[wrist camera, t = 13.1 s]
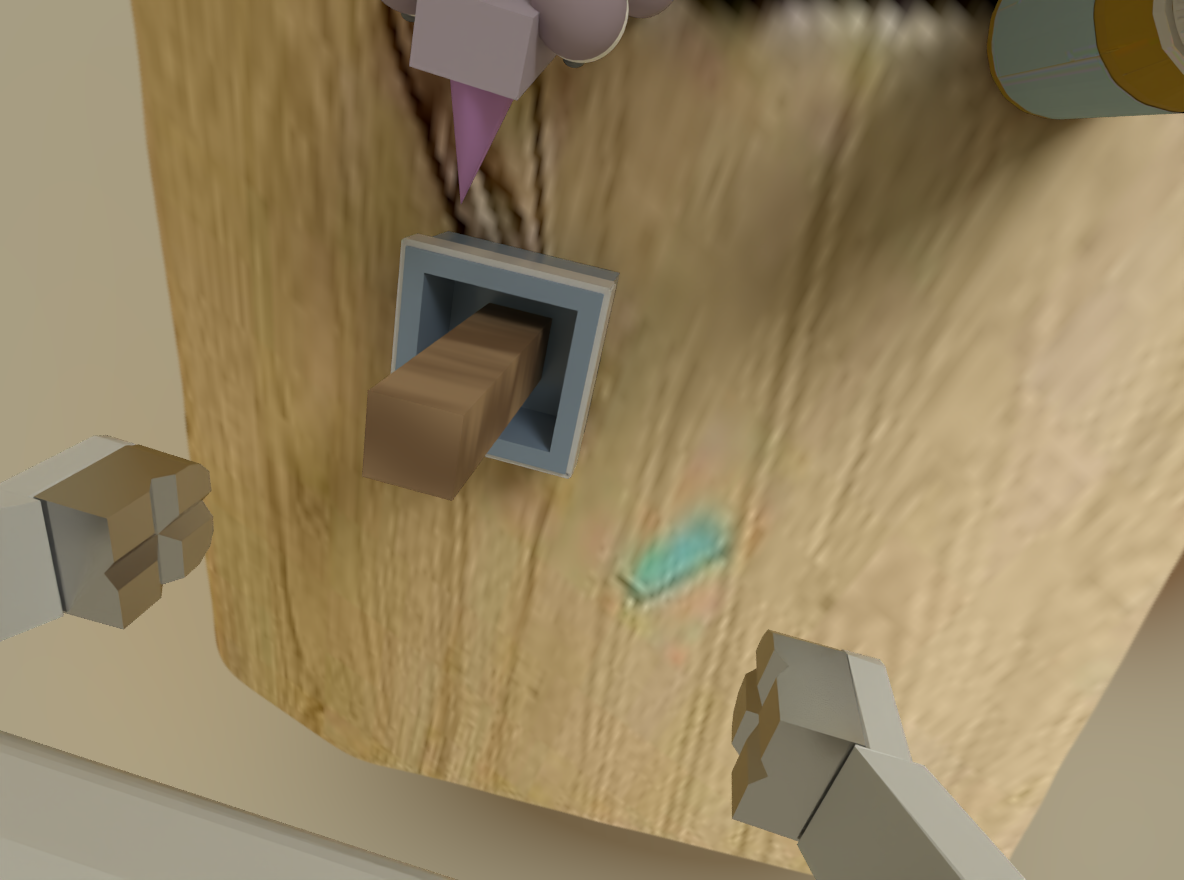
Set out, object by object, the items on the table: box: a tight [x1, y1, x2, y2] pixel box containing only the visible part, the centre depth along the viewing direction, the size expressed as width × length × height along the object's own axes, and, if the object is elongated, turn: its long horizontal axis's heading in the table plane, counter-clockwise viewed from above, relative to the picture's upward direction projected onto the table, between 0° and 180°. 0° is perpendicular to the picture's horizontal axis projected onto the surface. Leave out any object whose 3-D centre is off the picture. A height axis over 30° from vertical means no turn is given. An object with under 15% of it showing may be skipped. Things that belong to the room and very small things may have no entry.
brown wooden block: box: [362, 303, 552, 501], centre depth 31 cm, size 4×4×14 cm
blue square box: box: [391, 231, 620, 479], centre depth 36 cm, size 10×10×6 cm
